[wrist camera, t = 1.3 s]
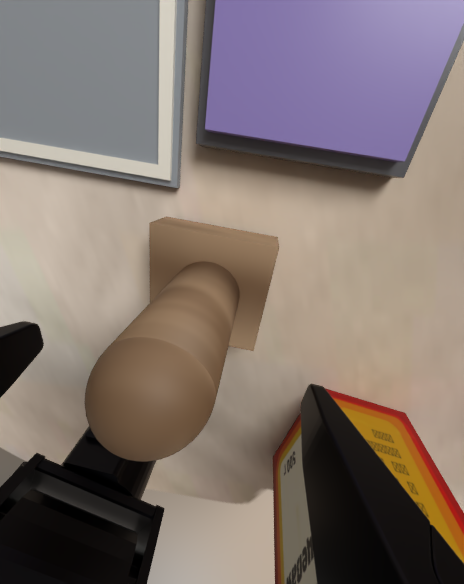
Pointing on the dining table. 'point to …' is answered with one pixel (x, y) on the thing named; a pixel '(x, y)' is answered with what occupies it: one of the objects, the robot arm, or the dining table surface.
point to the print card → (94, 85)
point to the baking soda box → (396, 456)
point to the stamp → (180, 338)
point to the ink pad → (326, 78)
